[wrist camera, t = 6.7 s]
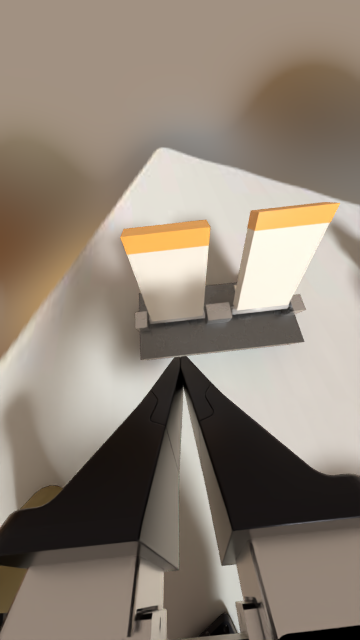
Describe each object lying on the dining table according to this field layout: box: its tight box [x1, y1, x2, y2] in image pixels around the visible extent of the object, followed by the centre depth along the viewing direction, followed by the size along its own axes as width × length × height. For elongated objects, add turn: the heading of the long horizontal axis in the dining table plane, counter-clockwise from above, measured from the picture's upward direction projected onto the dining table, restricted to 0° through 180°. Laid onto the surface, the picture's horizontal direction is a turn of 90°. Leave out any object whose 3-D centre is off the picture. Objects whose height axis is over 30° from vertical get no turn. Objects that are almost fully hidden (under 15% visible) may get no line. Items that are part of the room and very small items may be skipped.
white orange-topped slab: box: [230, 202, 340, 315], centre depth 14 cm, size 1×7×10 cm
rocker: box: [120, 220, 210, 324], centre depth 14 cm, size 1×7×10 cm, turn 97°
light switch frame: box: [135, 283, 306, 360], centre depth 19 cm, size 9×20×5 cm, turn 96°
